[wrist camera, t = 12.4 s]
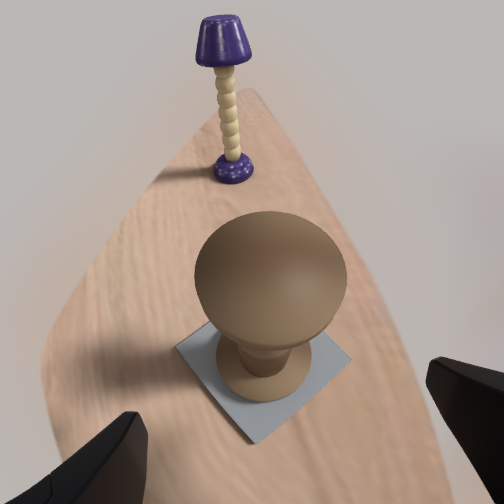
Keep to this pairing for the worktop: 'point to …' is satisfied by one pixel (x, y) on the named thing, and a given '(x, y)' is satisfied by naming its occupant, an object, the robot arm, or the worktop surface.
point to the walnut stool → (268, 299)
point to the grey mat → (260, 413)
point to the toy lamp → (226, 88)
